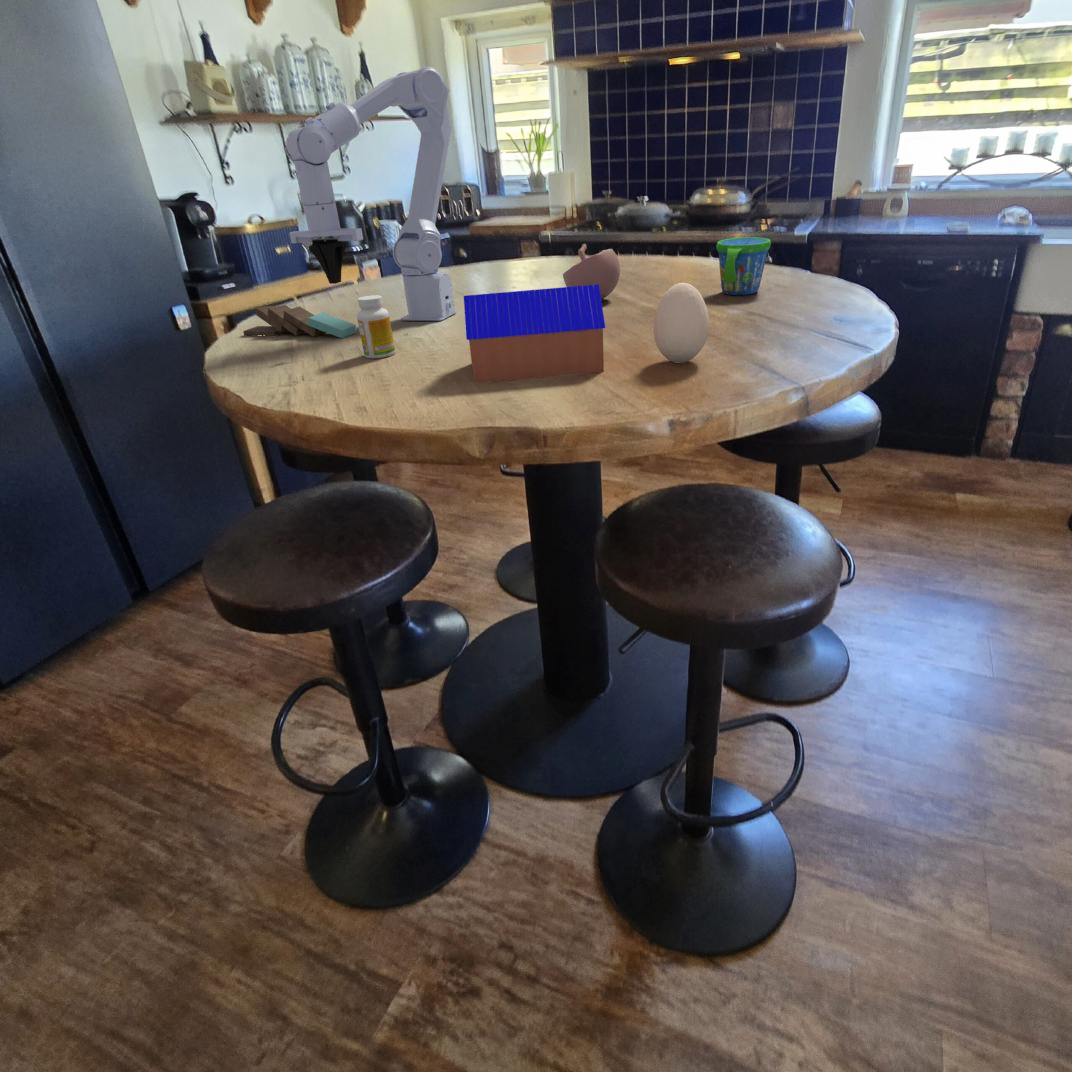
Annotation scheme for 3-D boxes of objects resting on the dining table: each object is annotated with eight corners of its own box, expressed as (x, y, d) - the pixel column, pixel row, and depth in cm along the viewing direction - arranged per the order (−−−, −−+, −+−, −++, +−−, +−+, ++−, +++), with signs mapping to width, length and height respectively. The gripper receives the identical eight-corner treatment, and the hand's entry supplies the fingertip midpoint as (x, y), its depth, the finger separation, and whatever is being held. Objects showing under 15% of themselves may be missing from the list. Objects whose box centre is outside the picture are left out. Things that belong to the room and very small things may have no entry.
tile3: (313, 324, 140) (285, 304, 142) (297, 328, 137) (268, 308, 139) (312, 331, 141) (284, 311, 143) (295, 335, 138) (267, 315, 140)
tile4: (299, 322, 142) (274, 305, 145) (281, 325, 139) (256, 307, 141) (298, 329, 143) (274, 312, 146) (280, 332, 140) (256, 315, 142)
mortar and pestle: (583, 294, 156) (581, 239, 150) (630, 297, 149) (630, 240, 144) (553, 305, 147) (550, 247, 142) (601, 308, 141) (600, 248, 135)
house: (606, 373, 102) (604, 291, 96) (471, 385, 102) (462, 303, 96) (595, 352, 112) (593, 277, 107) (473, 363, 112) (464, 288, 106)
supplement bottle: (401, 351, 122) (391, 294, 117) (385, 359, 117) (375, 300, 113) (374, 350, 123) (364, 294, 119) (358, 358, 119) (347, 300, 114)
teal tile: (341, 338, 134) (308, 325, 136) (355, 332, 137) (322, 320, 139) (342, 330, 133) (308, 317, 135) (355, 324, 136) (322, 312, 138)
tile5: (287, 326, 143) (257, 326, 145) (273, 331, 139) (243, 331, 142) (289, 334, 143) (259, 333, 146) (275, 339, 140) (245, 338, 143)
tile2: (330, 324, 139) (299, 306, 140) (315, 329, 135) (284, 310, 137) (329, 331, 140) (299, 313, 141) (314, 337, 136) (283, 318, 138)
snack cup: (748, 301, 137) (752, 246, 132) (699, 298, 143) (702, 245, 138) (778, 287, 147) (783, 235, 142) (732, 284, 153) (735, 235, 148)
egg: (650, 356, 107) (650, 280, 102) (701, 353, 107) (705, 276, 101) (656, 371, 100) (657, 289, 95) (711, 368, 100) (716, 285, 94)
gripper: (272, 208, 123) (291, 287, 130) (341, 203, 119) (356, 286, 125) (296, 204, 129) (313, 280, 136) (362, 200, 124) (376, 279, 131)
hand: (335, 282), depth 131 cm, fingers closed
